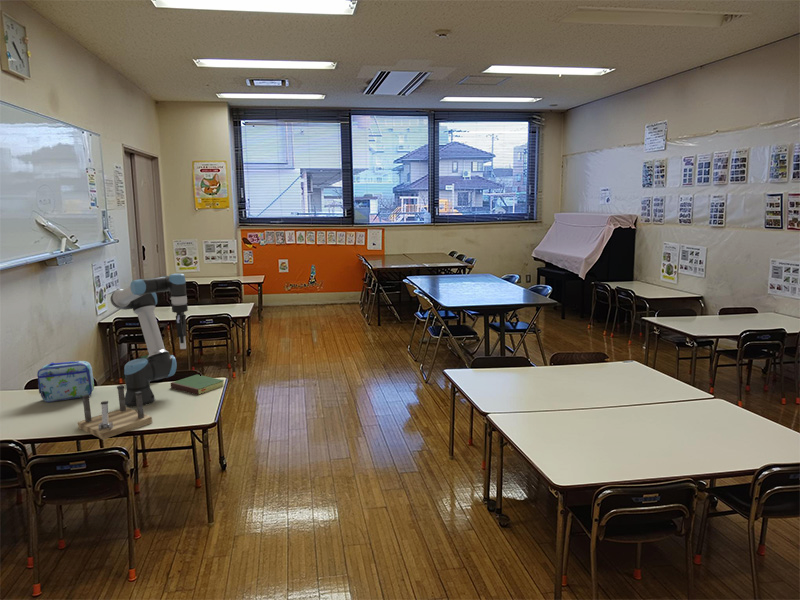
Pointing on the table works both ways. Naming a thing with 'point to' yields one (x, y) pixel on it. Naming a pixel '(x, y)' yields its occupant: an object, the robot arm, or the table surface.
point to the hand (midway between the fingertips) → (183, 348)
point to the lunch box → (65, 380)
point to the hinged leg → (105, 415)
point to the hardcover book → (197, 384)
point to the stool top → (115, 417)
